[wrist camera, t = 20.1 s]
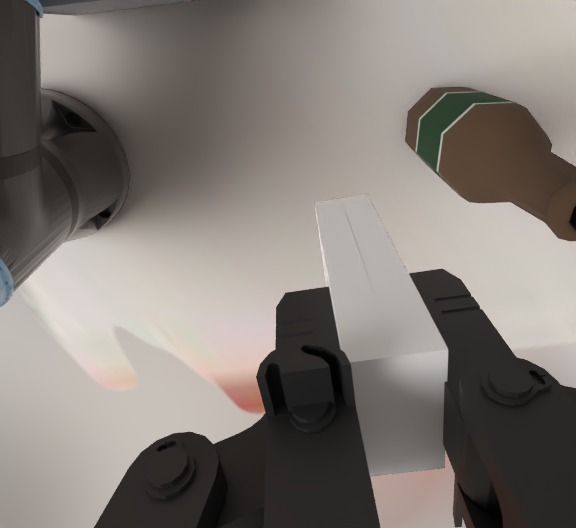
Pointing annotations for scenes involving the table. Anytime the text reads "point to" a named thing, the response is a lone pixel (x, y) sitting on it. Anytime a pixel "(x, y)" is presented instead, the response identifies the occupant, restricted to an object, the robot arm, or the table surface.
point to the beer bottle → (493, 154)
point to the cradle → (97, 5)
